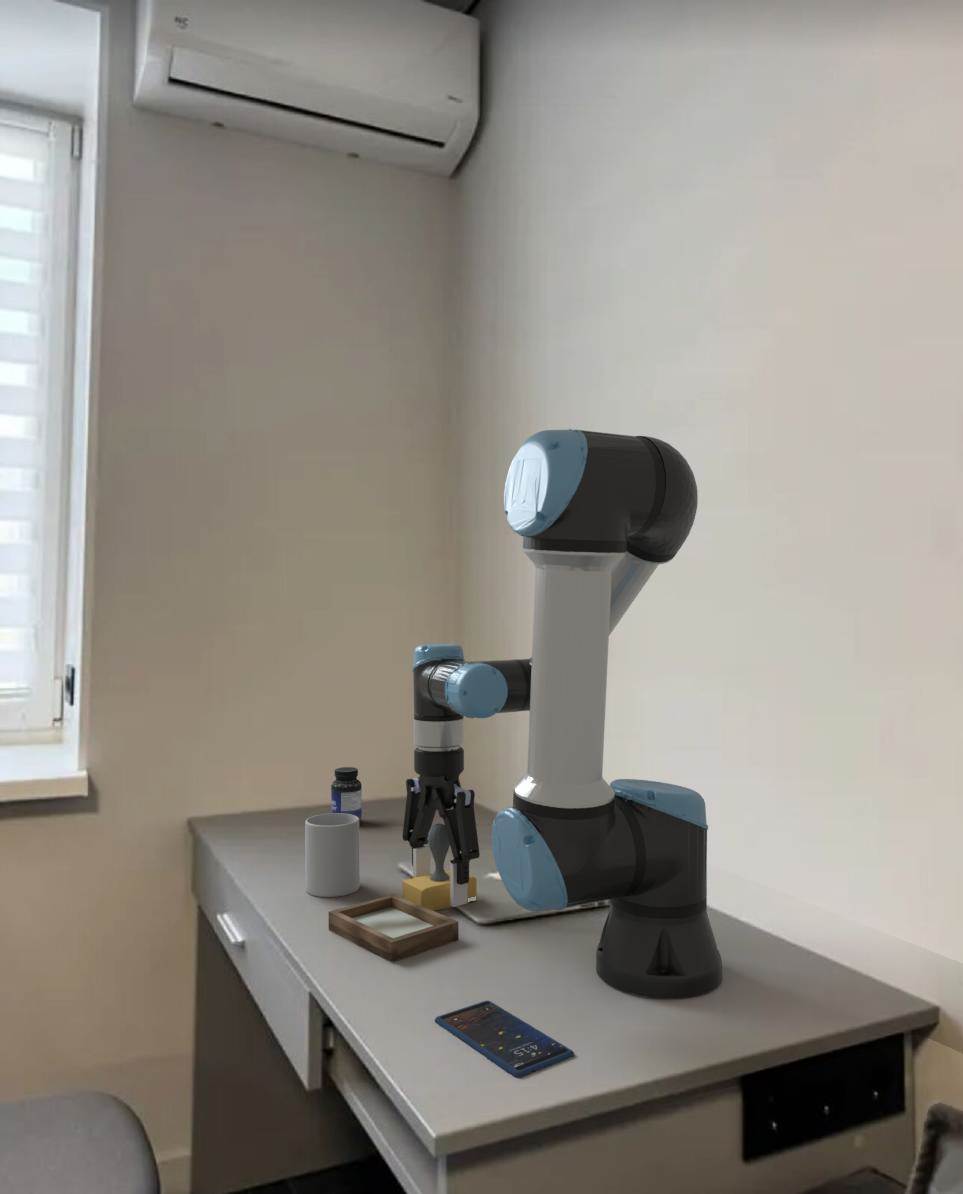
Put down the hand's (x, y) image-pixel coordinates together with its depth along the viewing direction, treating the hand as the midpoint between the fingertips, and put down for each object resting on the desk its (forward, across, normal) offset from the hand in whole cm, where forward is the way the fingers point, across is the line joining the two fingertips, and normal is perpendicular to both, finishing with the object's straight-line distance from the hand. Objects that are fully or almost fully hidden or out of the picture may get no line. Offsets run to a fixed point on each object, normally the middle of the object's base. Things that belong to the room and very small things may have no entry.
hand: (439, 896), depth 139 cm
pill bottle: (+1, +50, -15) cm, 52 cm away
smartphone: (+1, -37, +21) cm, 43 cm away
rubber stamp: (+1, 0, 0) cm, 1 cm away
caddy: (+1, -6, +13) cm, 14 cm away
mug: (+1, +18, +8) cm, 20 cm away
